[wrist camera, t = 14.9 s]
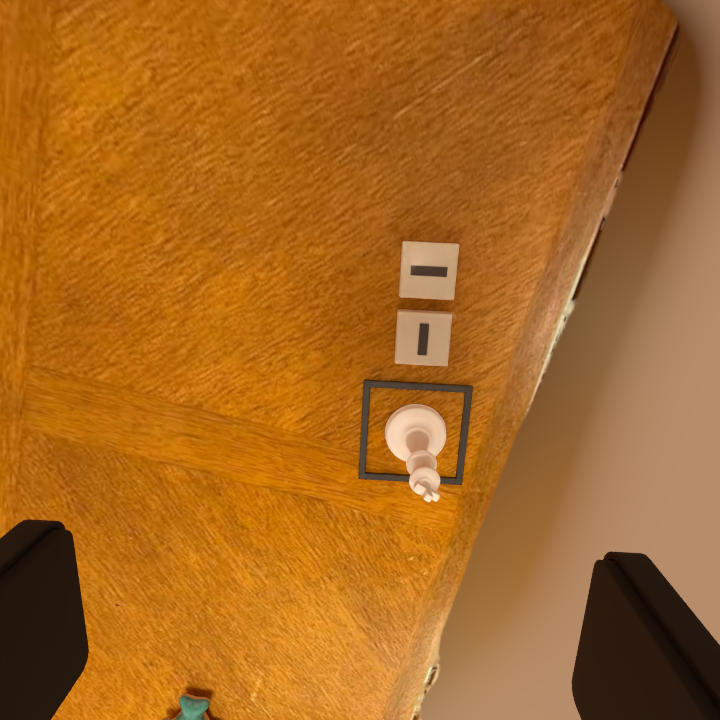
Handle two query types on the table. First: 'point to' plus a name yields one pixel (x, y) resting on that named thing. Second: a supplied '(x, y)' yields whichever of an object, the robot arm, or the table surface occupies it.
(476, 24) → the table surface
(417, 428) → the chess piece
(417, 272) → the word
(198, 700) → the whale figurine
